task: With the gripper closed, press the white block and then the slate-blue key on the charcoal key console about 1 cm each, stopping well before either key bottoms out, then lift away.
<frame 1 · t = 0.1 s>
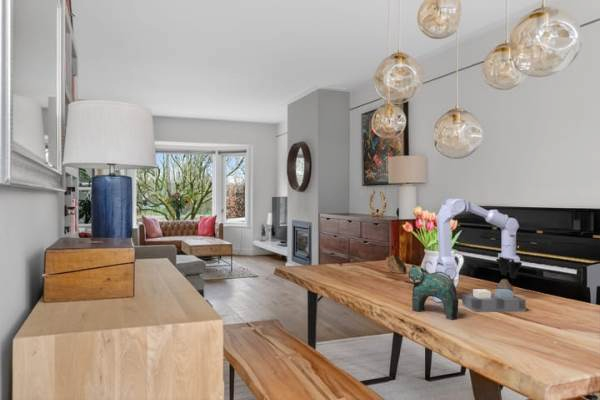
hand: (508, 276, 190), 10 cm above the table, tool pointing down, fingers open, 7 cm apart
decorative rock: (396, 273, 259), on the table
key console: (492, 307, 176), on the table
ceramic cat: (433, 314, 166), on the table
white block: (481, 295, 176), point 5 cm above the table, slide at 0.0 cm
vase: (504, 300, 191), on the table
slate key: (503, 295, 176), point 5 cm above the table, slide at 0.0 cm
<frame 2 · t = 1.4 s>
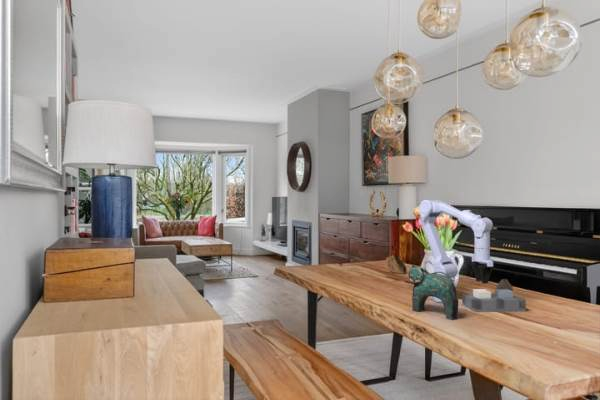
hand: (482, 282, 176), 10 cm above the table, tool pointing down, fingers open, 5 cm apart
nothing on the table moved.
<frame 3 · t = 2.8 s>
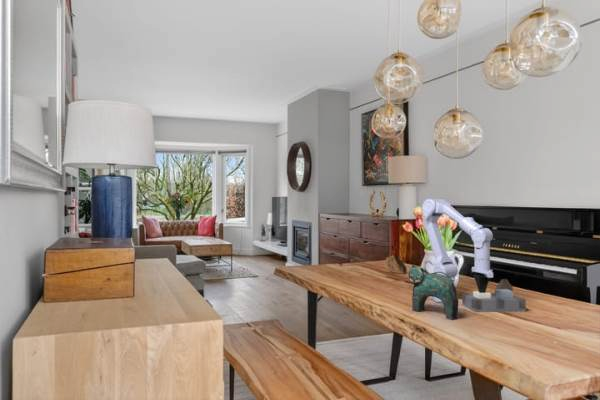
hand: (482, 292, 176), 6 cm above the table, tool pointing down, fingers closed, pressing on white block
white block: (481, 297, 176), point 4 cm above the table, slide at 0.8 cm, touching gripper
everything else where it was.
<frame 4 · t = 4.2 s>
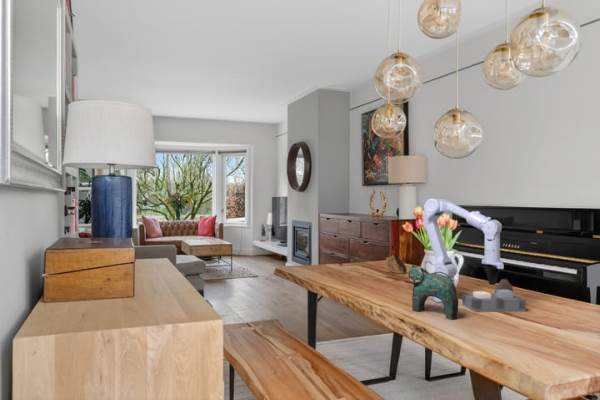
hand: (492, 284, 176), 10 cm above the table, tool pointing down, fingers closed
white block: (481, 297, 176), point 4 cm above the table, slide at 0.9 cm
everything else where it was.
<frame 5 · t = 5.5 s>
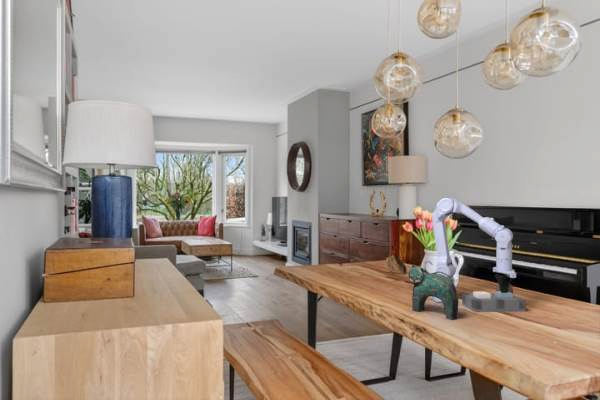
hand: (504, 292, 176), 6 cm above the table, tool pointing down, fingers closed, pressing on slate key
slate key: (503, 297, 176), point 4 cm above the table, slide at 0.9 cm, touching gripper
everything else where it was.
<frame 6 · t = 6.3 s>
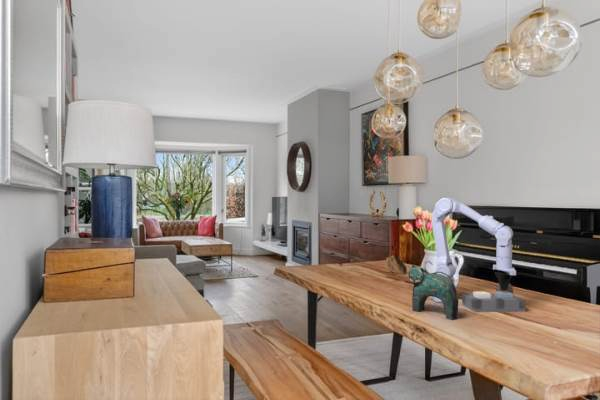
hand: (503, 290, 176), 7 cm above the table, tool pointing down, fingers closed
slate key: (503, 297, 176), point 4 cm above the table, slide at 0.9 cm
everything else where it was.
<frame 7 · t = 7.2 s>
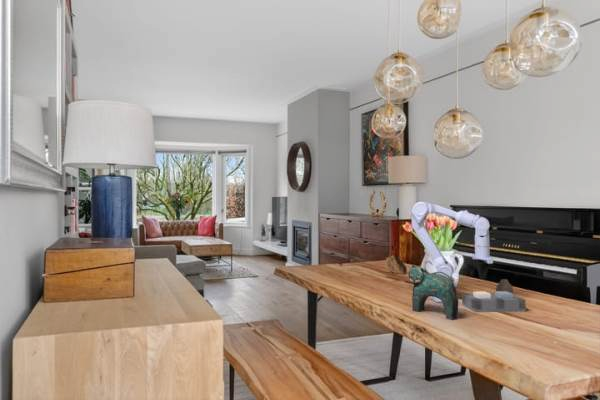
hand: (482, 278, 184), 10 cm above the table, tool pointing down, fingers closed
nothing on the table moved.
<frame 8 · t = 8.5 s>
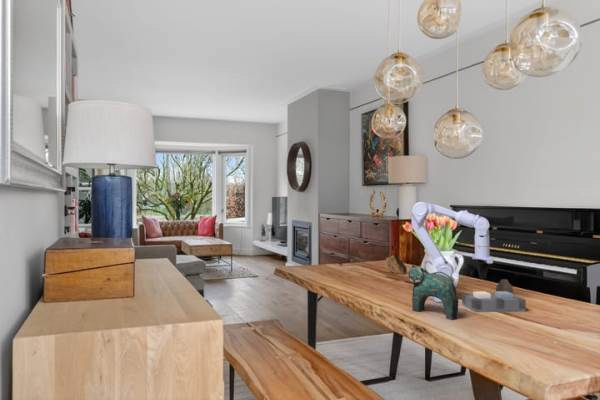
hand: (482, 278, 184), 10 cm above the table, tool pointing down, fingers closed
nothing on the table moved.
at the end: white block slide at 0.9 cm; slate key slide at 0.9 cm; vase moved 0.2 cm from its start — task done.
